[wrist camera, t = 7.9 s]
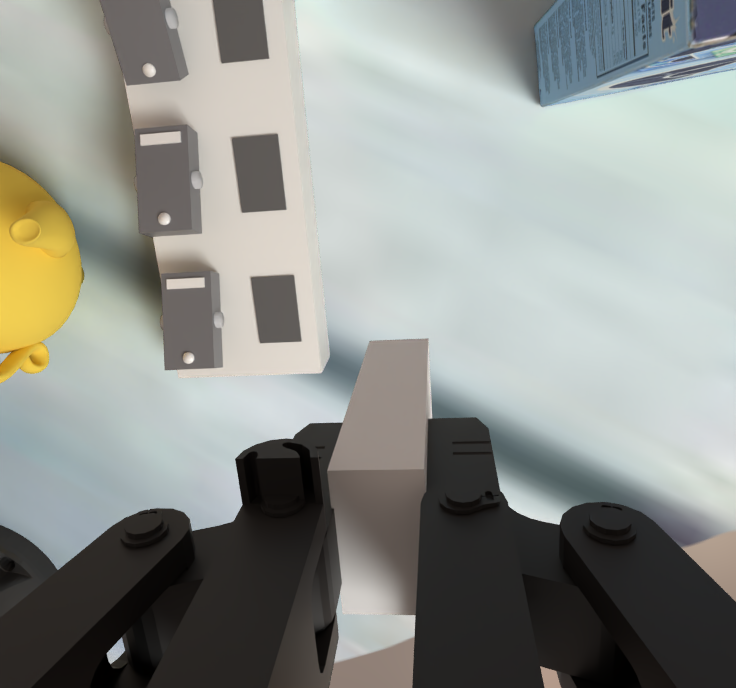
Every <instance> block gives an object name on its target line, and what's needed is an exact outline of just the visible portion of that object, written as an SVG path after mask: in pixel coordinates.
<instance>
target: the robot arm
mask: <svg viewBox="0 0 736 688" xmlns="http://www.w3.org/2000/svg"><path fill="white" fill-rule="evenodd" d="M235 460H236V466H237V473H238V479H239V485H240V491H241V498H242V504H243V505H242V507H241V509H240V511H239V513H238V514H237V516H236V518H235V520H234V521H233V522H231V523H227V524H223V525H220V526H215V527H210V528H205V529H200V530H195V531H192V529H191V524H190V519H189V518H188V517H187V516H186V514H185V513H184V512H181V511H178V510H175V509H159V508H156V509H150V510H144V511H140V512H138V513H137V514H134V515H132V516H129V517H126V518H124V519H123V520H121V521H120V522H118V523H116V524H115V525H113V526H112V527H110V528H109V529H108V530H107V531H105V532H104V533H103V534H102V535H101V536H99V537H98V538H97V539H96V540H94V541H93V542H92V543H91V544H90V545H88V546H87V547H86V548H85V549H83V550H82V551H81V552H80V553H79V554H77V555H76V556H75V557H74V558H72V559H71V560H70V561H69V562H68V563H66V564H65V565H64V566H63V567H61V568H60V569H59V570H57V569H56V567H55V566H54V564H53V563H52V562H51V561H50V559H49V558H48V557H47V556H46V555H45V554H44V553H43V552H42V551H41V550H40V549H39V548H38V547H37V546H35V545H34V544H33V543H32V542H30V541H29V540H28V539H26V538H25V537H23V536H21V535H20V534H18V533H16V532H14V531H12V530H10V529H8V528H6V527H4V526H1V525H0V688H329V685H330V680H331V675H332V670H333V664H334V659H335V654H336V649H337V643H338V638H339V637H338V624H337V615H336V609H337V604H338V599H339V594H340V593H341V602H342V611H343V614H380V615H416V620H415V644H414V666H413V688H544V684H543V679H542V674H541V669H540V666H542V667H545V668H548V669H552V670H555V671H557V674H558V678H559V682H560V685H561V687H562V688H736V602H735V601H734V600H733V599H732V598H731V597H730V596H729V595H728V594H727V593H726V592H725V591H724V590H723V589H722V588H721V587H720V586H719V585H718V584H717V583H716V582H715V581H714V580H713V579H712V578H711V577H710V576H709V575H708V574H707V573H706V572H705V571H704V570H703V569H702V568H701V567H700V566H699V565H698V564H697V563H696V562H695V561H694V560H693V559H692V558H691V557H690V556H689V555H688V554H687V553H686V552H685V551H684V550H683V549H682V548H681V547H680V546H679V545H678V544H677V543H675V542H674V541H673V540H672V539H671V538H670V537H669V536H668V535H667V534H666V533H665V532H664V531H663V530H662V529H661V528H660V527H659V526H658V525H657V524H656V523H655V522H654V521H653V520H651V519H650V518H648V517H647V516H646V515H644V514H643V513H641V512H639V511H637V510H634V509H631V508H629V507H626V506H624V505H620V504H615V503H614V504H612V503H608V502H596V503H585V504H581V505H578V506H574V507H572V508H571V509H569V510H568V511H567V512H565V513H564V514H563V515H562V519H561V522H560V525H557V524H552V523H546V522H542V521H538V520H534V519H530V518H528V517H526V516H523V515H521V514H519V513H517V512H516V511H514V510H513V509H511V508H510V507H509V506H508V502H507V500H506V498H505V496H504V495H503V493H502V492H501V491H500V488H499V483H498V477H497V472H496V467H495V461H494V456H493V451H492V445H491V440H490V435H489V429H488V428H487V427H486V426H485V425H484V424H483V423H482V422H481V421H479V420H478V419H477V418H437V419H432V404H431V384H430V363H429V342H428V339H404V340H380V341H370V342H369V345H368V348H367V351H366V354H365V357H364V360H363V363H362V366H361V369H360V372H359V375H358V378H357V381H356V384H355V387H354V390H353V393H352V397H351V400H350V403H349V406H348V409H347V412H346V415H345V418H344V421H343V423H310V424H309V425H307V426H306V427H305V428H303V429H302V430H301V431H299V432H298V433H297V434H295V436H294V438H293V439H279V440H270V441H267V442H263V443H260V444H256V445H254V446H252V447H250V448H248V449H246V450H244V451H243V452H242V453H241V454H240V455H239V456H238V457H237V458H236V459H235ZM121 637H122V639H123V643H124V647H125V652H124V653H123V654H122V655H121V656H120V657H119V658H118V659H117V660H116V661H114V662H113V663H112V664H110V663H109V662H108V658H107V654H106V653H107V652H108V651H109V650H110V649H111V648H112V647H113V646H114V645H115V644H116V643H117V641H118V640H119V639H120V638H121Z"/></svg>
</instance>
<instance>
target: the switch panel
mask: <svg viewBox="0 0 736 688" xmlns="http://www.w3.org/2000/svg"><path fill="white" fill-rule="evenodd" d="M170 3H171V7H172V8H174V9H175V11H176V13H177V16H178V22H179V25H178V28H177V30H178V34H179V38H180V42H181V46H182V50H183V54H184V57H185V61H186V65H187V69H188V73H189V75H187V76H186V77H185V78H183V79H182V80H181V81H170V82H160V83H150V84H140V85H129V86H127V85H126V82H125V79H124V82H125V87H126V93H127V98H128V104H129V109H130V114H131V120H132V125H133V131H134V129H141V128H152V127H163V126H175V125H186V124H187V125H188V126H190V127H191V128H192V129H193V130H195V131H196V132H197V133H198V153H199V171H200V173H201V174H202V178H203V187H202V188H201V189H200V197H201V219H202V234H190V235H174V236H159V237H153V240H154V246H155V251H156V257H157V262H158V268H159V273H160V278H161V274H164V273H181V272H199V271H213V272H216V273H219V279H220V304H221V312H222V313H223V315H224V326H223V328H221V329H222V354H223V367H221V368H209V369H182V370H177V371H178V377H179V378H196V377H224V376H252V375H280V374H309V373H322V371H323V369H324V367H325V365H326V363H327V361H328V359H329V357H330V349H329V339H328V329H327V319H326V309H325V299H324V289H323V279H322V269H321V260H320V250H319V240H318V230H317V220H316V210H315V200H314V190H313V180H312V170H311V160H310V150H309V140H308V130H307V121H306V111H305V101H304V91H303V81H302V71H301V61H300V51H299V41H298V31H297V21H296V11H295V1H294V0H170ZM134 136H135V134H134Z"/></svg>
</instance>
